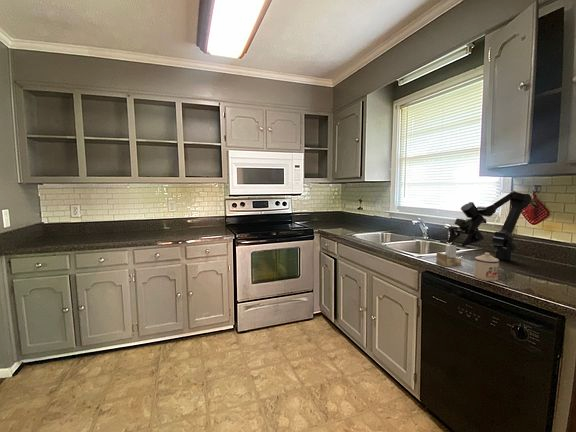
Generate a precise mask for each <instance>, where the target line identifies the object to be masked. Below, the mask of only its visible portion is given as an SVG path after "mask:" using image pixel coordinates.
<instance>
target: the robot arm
mask: <svg viewBox="0 0 576 432" xmlns="http://www.w3.org/2000/svg"><path fill="white" fill-rule="evenodd" d="M532 199H533V198H532V196H531V194H529V193H523V192H517V191H515V190H506V191H503V193H501V195H499V196H497V197H496V198H494V199H492V200H491V201H489V202H486V203H483V204H480V205H478V206H476V205H475V203H474V202H473V201H469V202H468V203H466V204H464V205H462V206H461V208H460V210H461V212H462V213H463V214H464V215H465V216H466V217H467V218H466V219H463V218H455V221H454V223H453V224H454V225H456V226H452V225H450V226H449V227H448V228H447V231H448V232H449V236H448V239H447V243H448V244H451V243H452V242H454V241H456V240H457V239H458V238H459V237H460V236H461V235H465V236H467V237H466V238H465V239H464V241H463V243H462V244H461V247H462V248H464V247H467V246H469V245H472V244H474V243H479V242H482V241H483V240H484V238H485V237H484V235H483V234H482V232H481V231H480V230H479V227H480V226H481V225H482V224H487V223H488V222H487V218H485V217H488V218H489V217H492V216H493V215H494V214H495V213H496V211H497V210H498V208H500V207H502V206H503V205H505V204H506V203H508V202H509V201H510V202H509V203H510V205H511V208H510V210H509V212H508V213H507V217H506V219H505V221H504V223H503V224H502V227H501V230H499V231H495V232H494V234H493V236H492V241H491V242H492V245H493V248H496V250H495V257H494V258H497V259H499V261H503V262H505V261H506V262H512V252H513V251H516V248H517V246H516V245H515V243H513V241H514V238H513V232H514V229H515V227H516V224H517V223H518V220H519V219H520V216H521V214H522V212H523V210H524V209H526V208H528V206H529V205H530V203H531V202H532ZM457 226H458V227H457ZM458 228H459V229H458Z"/></svg>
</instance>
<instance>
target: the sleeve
mask: <svg viewBox="0 0 576 432" xmlns="http://www.w3.org/2000/svg"><path fill="white" fill-rule="evenodd" d="M435 263H436V264H438V265H441V266H444V267H451V266H461V265H462V258H461V257H456V258H452V259H447V255H446V254H445V253H443V252H439V251H437V252H436V261H435Z"/></svg>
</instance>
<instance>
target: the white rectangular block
mask: <svg viewBox="0 0 576 432" xmlns="http://www.w3.org/2000/svg"><path fill="white" fill-rule="evenodd" d="M444 254H446V255H447V259H452V258H457V245H455V244H454V245H453V244H446V245H445V253H444Z"/></svg>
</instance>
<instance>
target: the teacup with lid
mask: <svg viewBox="0 0 576 432" xmlns="http://www.w3.org/2000/svg"><path fill="white" fill-rule="evenodd" d="M499 267H500V260H499V259H497V258H495V257H494V256H493V255H491V253H490V252H484V253H483V254H481V255H477V256H475V257H474V272H473V273H474V274H473V275H474V278H475V279H477V280H482V281H485V282H497V281H498V279H499V278H498V277H499V276H498V275H499Z"/></svg>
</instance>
